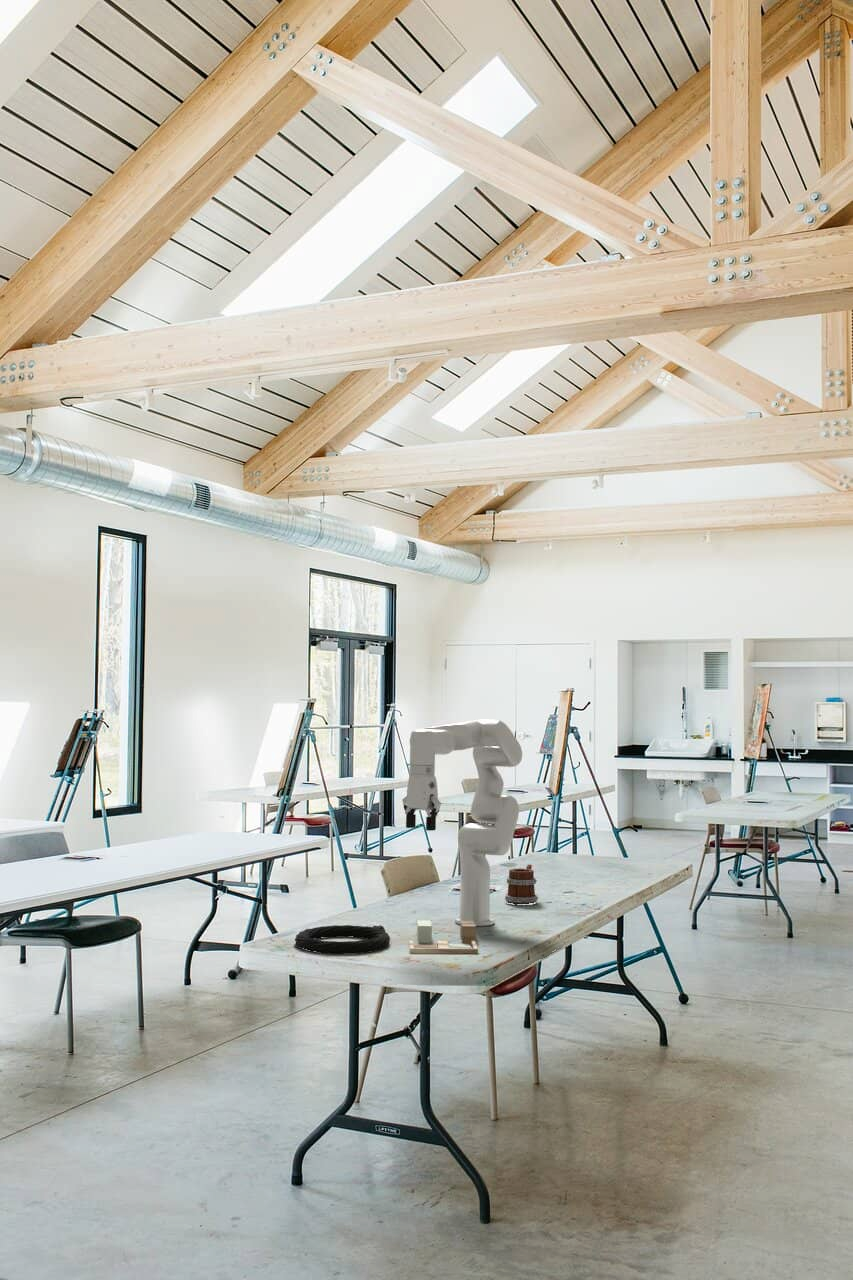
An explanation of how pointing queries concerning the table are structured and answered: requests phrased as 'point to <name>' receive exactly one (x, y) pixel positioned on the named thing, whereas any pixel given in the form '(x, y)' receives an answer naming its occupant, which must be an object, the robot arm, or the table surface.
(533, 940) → the table surface
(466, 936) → the walnut bar
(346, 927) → the cable lock
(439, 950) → the oak rack
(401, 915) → the table surface
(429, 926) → the sage bar
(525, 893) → the mug
